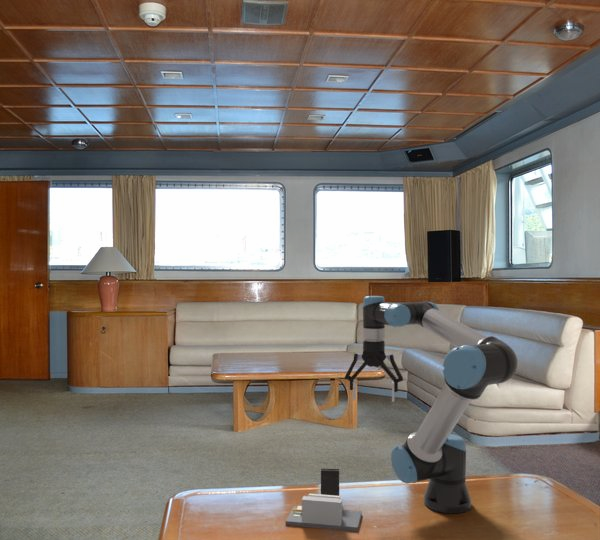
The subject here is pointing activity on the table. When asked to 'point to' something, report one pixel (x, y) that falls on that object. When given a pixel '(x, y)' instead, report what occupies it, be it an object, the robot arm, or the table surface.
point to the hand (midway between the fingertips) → (373, 400)
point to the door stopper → (330, 482)
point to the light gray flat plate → (319, 496)
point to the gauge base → (346, 518)
